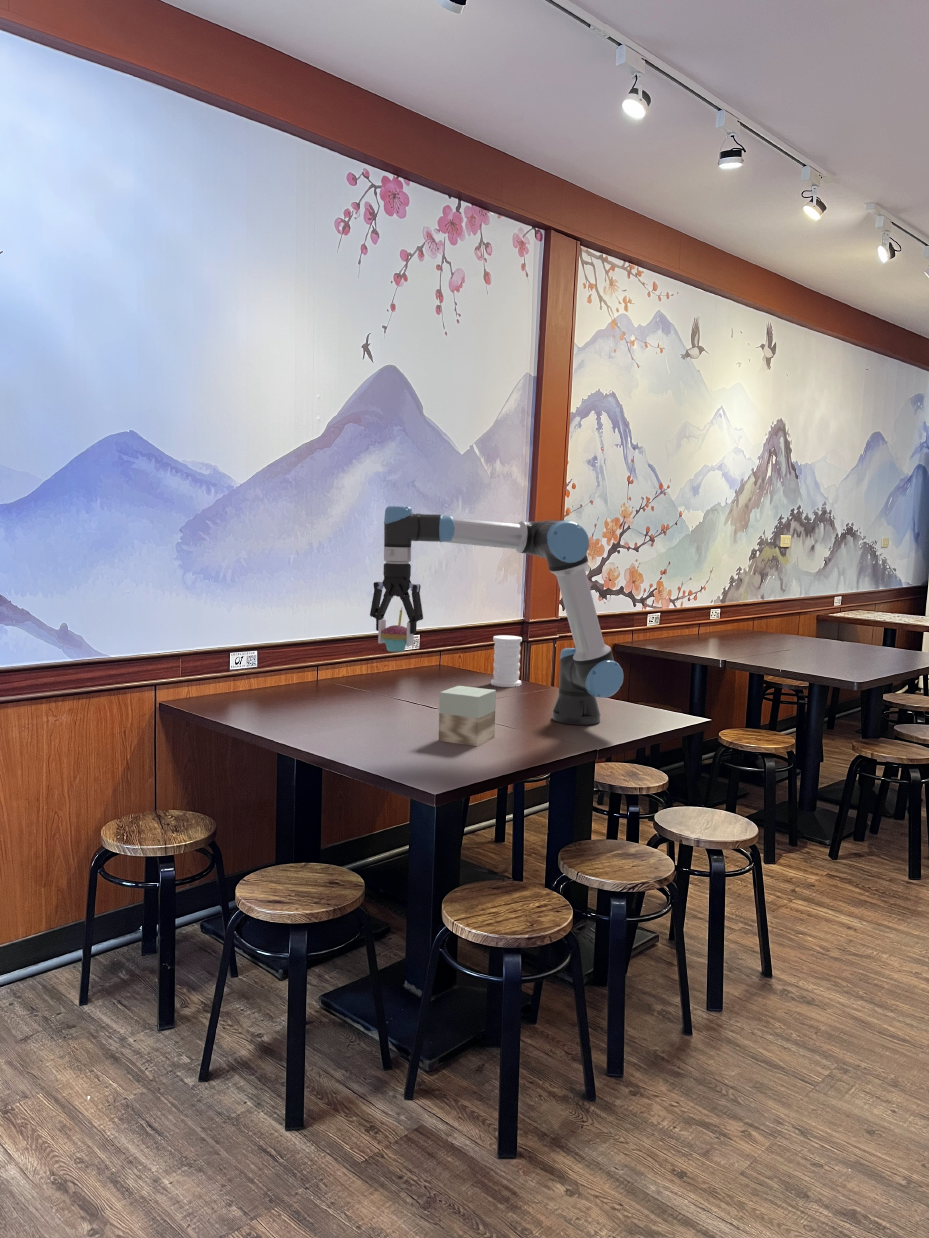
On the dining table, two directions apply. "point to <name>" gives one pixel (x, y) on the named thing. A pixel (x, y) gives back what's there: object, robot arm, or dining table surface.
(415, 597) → the robot arm
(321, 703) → the dining table surface
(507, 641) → the decorative container
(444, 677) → the dining table surface
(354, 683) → the dining table surface
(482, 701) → the tower top
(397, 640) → the cupcake
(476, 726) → the tower base
